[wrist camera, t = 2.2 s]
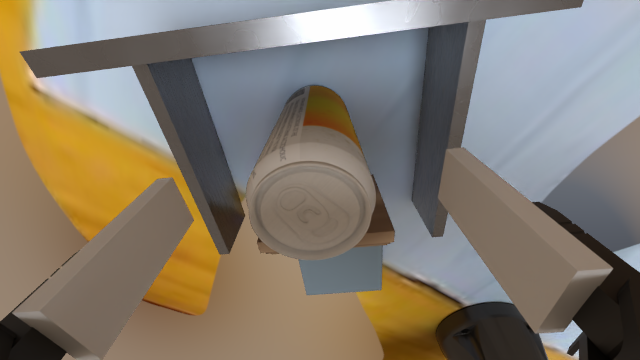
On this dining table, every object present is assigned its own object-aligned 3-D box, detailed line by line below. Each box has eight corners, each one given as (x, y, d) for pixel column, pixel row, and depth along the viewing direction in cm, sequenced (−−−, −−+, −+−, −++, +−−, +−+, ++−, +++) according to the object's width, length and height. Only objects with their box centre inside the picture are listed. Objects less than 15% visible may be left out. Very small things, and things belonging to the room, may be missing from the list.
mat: (380, 283, 36) (381, 290, 35) (307, 289, 37) (306, 295, 36) (381, 228, 31) (382, 234, 30) (295, 235, 31) (294, 241, 30)
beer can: (313, 157, 26) (306, 282, 13) (270, 114, 23) (209, 213, 10) (359, 120, 23) (408, 223, 11) (318, 68, 21) (315, 120, 8)
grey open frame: (420, 199, 28) (478, 293, 18) (237, 216, 30) (192, 313, 19) (444, 6, 19) (593, -28, 9) (173, 43, 20) (19, 51, 10)
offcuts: (372, 200, 28) (392, 262, 21) (280, 209, 29) (266, 271, 21) (372, 174, 27) (394, 230, 19) (274, 183, 27) (256, 242, 20)
